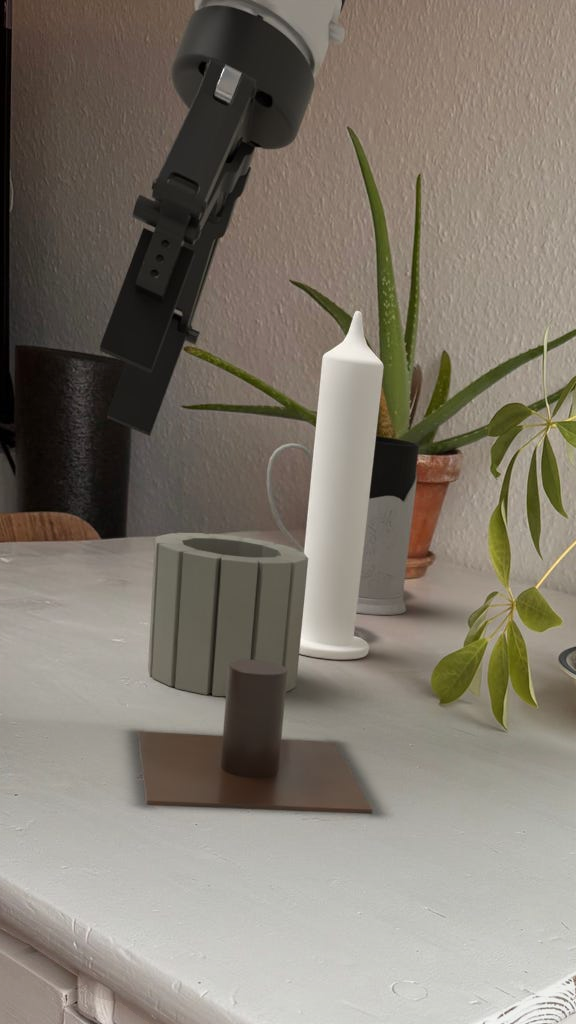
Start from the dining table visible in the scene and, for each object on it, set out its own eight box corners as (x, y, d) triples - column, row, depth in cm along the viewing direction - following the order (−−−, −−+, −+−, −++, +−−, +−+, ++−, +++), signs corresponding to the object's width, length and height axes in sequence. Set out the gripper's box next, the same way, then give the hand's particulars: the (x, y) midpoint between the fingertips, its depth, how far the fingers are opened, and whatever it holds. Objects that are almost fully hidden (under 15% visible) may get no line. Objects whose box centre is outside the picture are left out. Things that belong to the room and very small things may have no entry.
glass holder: (418, 617, 119) (440, 450, 114) (269, 608, 114) (284, 431, 108) (388, 596, 127) (407, 438, 121) (246, 587, 121) (259, 420, 116)
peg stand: (145, 829, 62) (152, 688, 59) (136, 756, 71) (142, 632, 69) (369, 837, 65) (385, 704, 63) (331, 766, 75) (344, 648, 72)
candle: (293, 658, 98) (327, 304, 89) (268, 635, 104) (297, 301, 95) (380, 661, 101) (421, 320, 92) (351, 639, 107) (387, 316, 98)
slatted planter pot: (152, 692, 84) (159, 553, 81) (145, 654, 93) (152, 527, 89) (304, 702, 87) (317, 568, 84) (284, 664, 96) (295, 542, 92)
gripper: (351, -52, 62) (200, 358, 62) (293, 173, 86) (184, 470, 86) (201, -135, 60) (45, 289, 60) (184, 120, 84) (73, 423, 84)
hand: (127, 396), depth 73 cm, fingers open, 13 cm apart
